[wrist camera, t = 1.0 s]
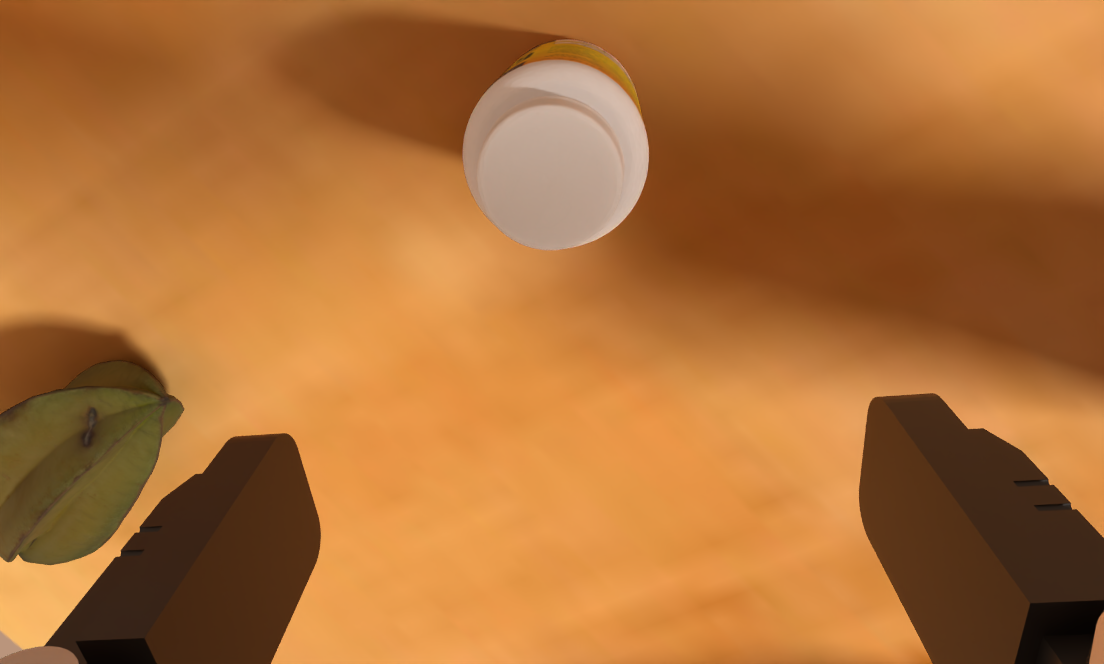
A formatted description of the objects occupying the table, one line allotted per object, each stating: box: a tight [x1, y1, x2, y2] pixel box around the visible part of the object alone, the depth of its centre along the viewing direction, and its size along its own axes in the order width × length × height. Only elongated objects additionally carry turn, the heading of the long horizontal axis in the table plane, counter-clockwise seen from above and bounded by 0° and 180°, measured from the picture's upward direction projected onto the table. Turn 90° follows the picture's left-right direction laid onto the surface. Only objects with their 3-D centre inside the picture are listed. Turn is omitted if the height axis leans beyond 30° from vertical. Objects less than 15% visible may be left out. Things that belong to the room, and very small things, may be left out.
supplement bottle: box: [463, 39, 649, 250], centre depth 24 cm, size 6×6×10 cm
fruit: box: [0, 360, 184, 565], centre depth 34 cm, size 11×12×7 cm
